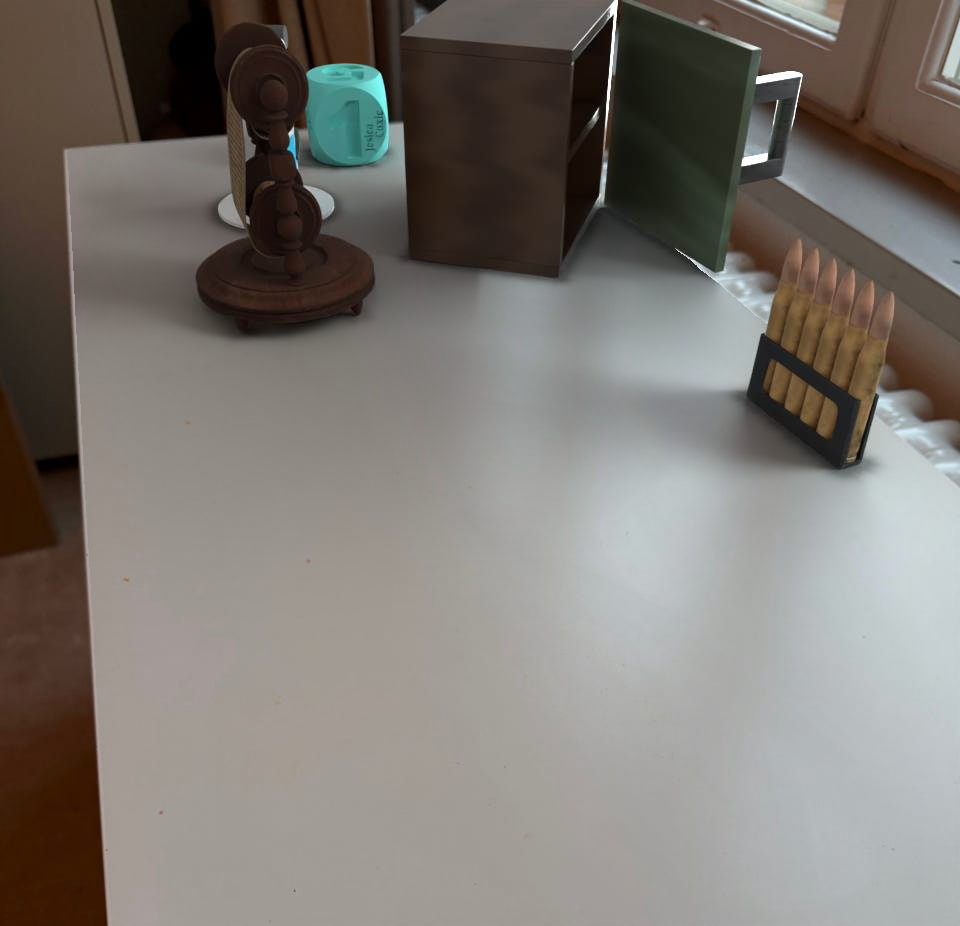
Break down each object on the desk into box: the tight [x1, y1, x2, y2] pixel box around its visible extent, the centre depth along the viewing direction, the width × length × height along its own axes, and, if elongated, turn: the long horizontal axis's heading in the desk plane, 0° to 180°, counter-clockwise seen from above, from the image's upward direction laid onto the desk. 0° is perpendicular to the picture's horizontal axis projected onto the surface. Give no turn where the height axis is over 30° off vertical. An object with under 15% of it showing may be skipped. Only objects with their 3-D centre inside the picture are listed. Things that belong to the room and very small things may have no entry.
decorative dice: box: [304, 63, 390, 167], centre depth 111 cm, size 8×8×8 cm
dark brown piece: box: [195, 21, 376, 334], centre depth 81 cm, size 15×15×20 cm
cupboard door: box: [603, 0, 803, 274], centre depth 93 cm, size 8×18×18 cm, turn 28°
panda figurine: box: [217, 24, 335, 230], centre depth 97 cm, size 12×11×15 cm
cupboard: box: [399, 0, 618, 279], centre depth 92 cm, size 14×18×18 cm
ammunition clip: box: [746, 237, 895, 470], centre depth 69 cm, size 11×2×12 cm, turn 26°
